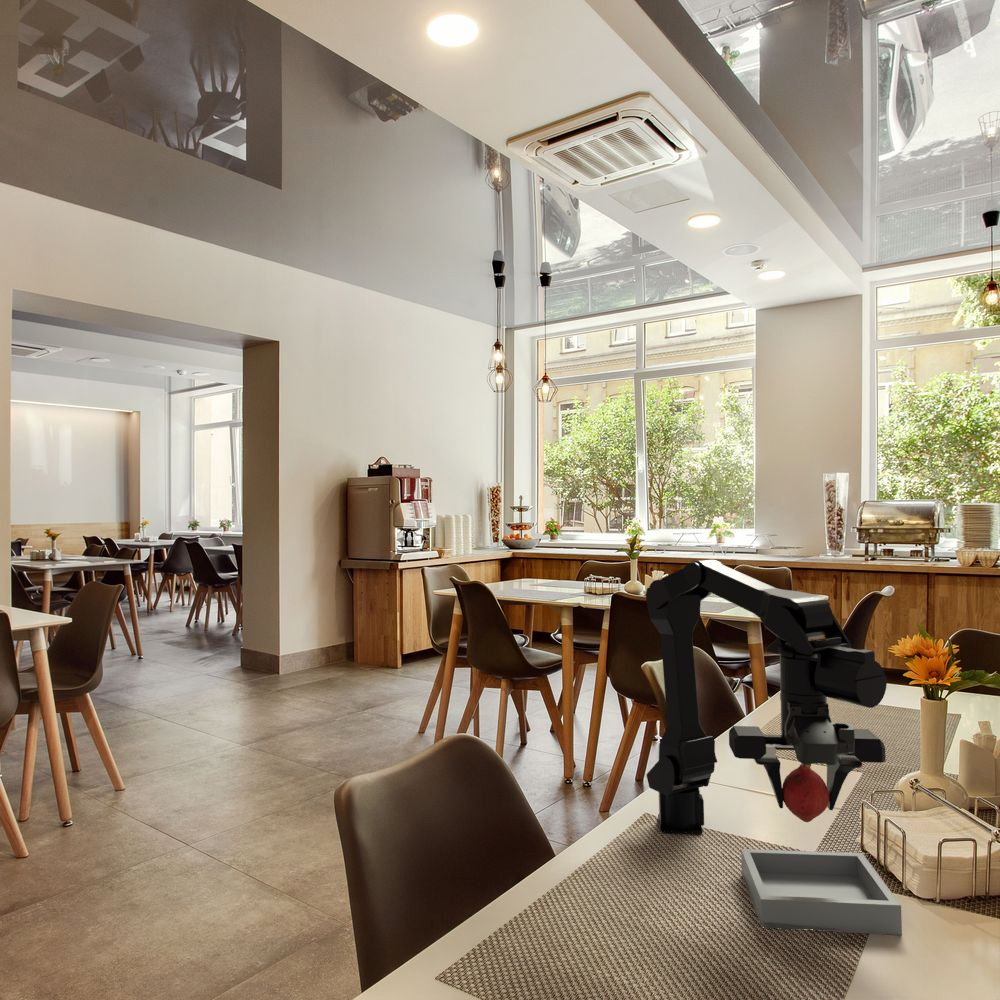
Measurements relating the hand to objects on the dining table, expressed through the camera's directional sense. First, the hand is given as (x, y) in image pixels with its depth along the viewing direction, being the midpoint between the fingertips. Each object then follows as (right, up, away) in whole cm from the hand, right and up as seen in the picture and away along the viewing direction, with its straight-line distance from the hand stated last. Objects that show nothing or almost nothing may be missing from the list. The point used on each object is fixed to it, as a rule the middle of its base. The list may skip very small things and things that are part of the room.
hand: (805, 808), depth 103 cm
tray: (0, -11, -3) cm, 11 cm away
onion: (0, -2, 0) cm, 2 cm away
